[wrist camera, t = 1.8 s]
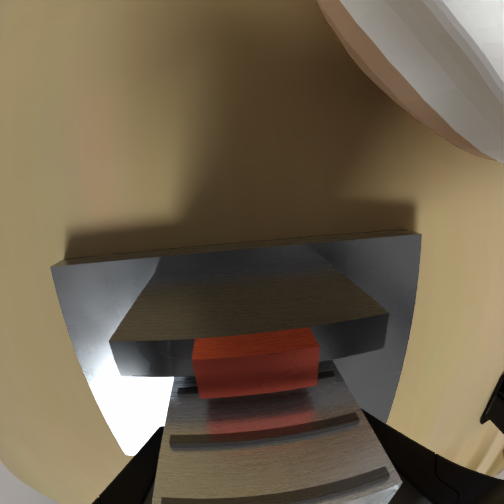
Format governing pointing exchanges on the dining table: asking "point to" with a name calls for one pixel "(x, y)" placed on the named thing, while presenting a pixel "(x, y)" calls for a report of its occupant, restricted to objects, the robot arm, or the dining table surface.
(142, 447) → the robot arm
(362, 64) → the bowl
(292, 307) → the grey stepped stand
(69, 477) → the dining table surface
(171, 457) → the column
